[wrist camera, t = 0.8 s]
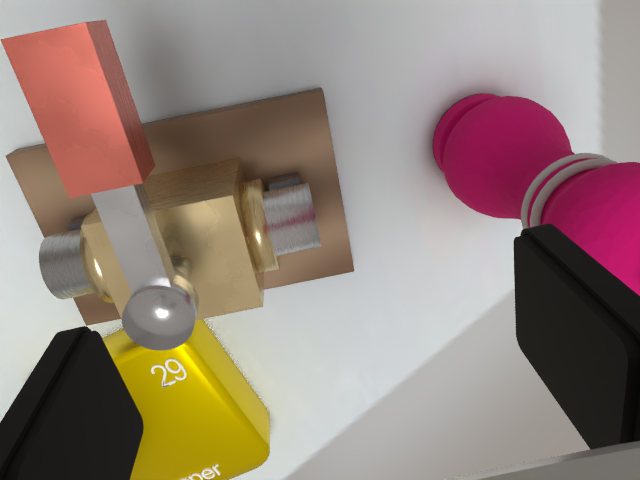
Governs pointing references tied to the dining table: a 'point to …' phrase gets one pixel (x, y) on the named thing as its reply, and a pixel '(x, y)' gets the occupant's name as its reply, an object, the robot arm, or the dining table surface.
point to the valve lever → (105, 166)
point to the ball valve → (194, 238)
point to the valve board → (213, 146)
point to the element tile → (192, 409)
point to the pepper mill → (541, 178)
